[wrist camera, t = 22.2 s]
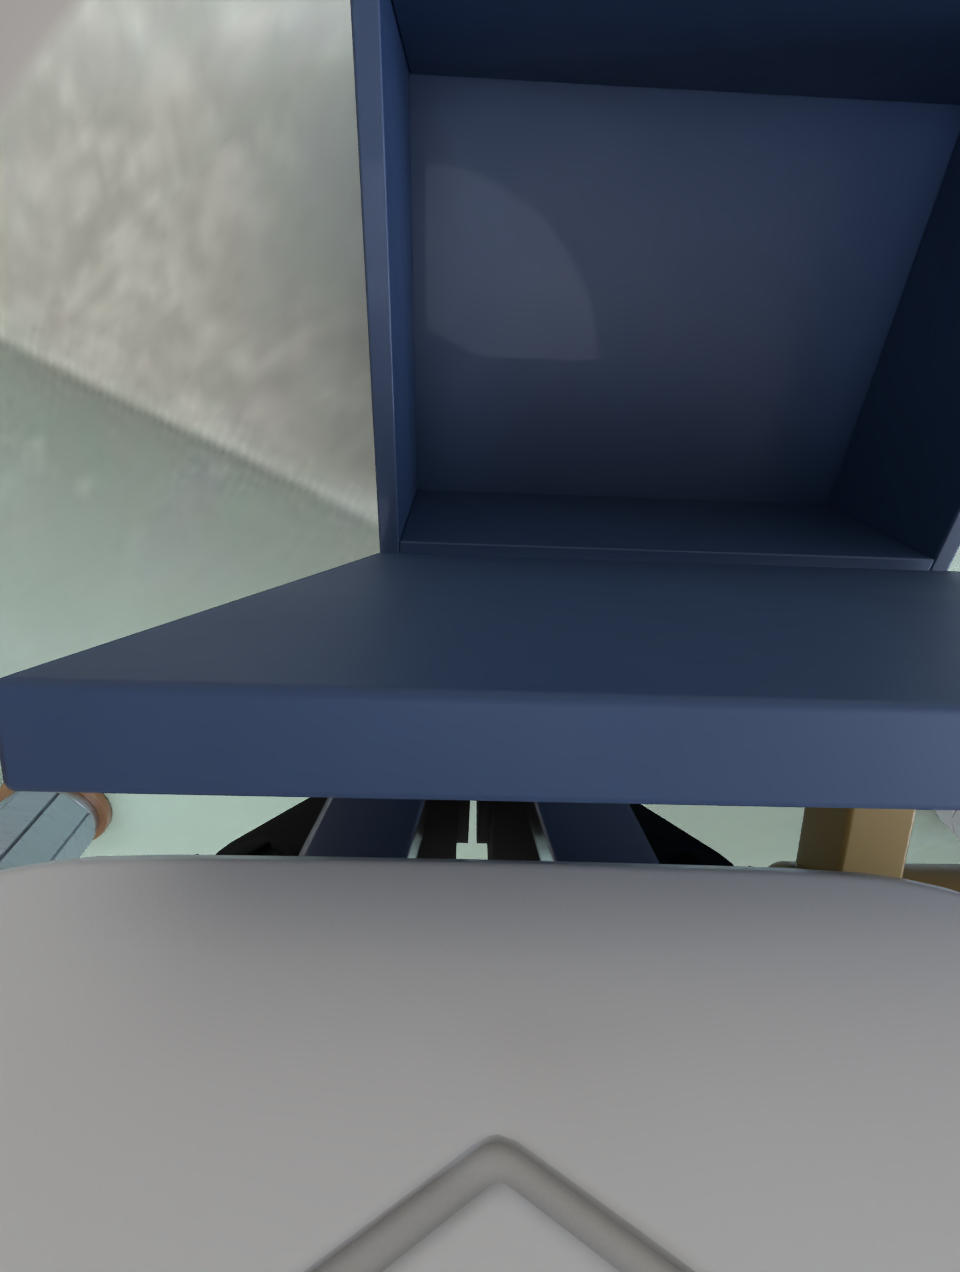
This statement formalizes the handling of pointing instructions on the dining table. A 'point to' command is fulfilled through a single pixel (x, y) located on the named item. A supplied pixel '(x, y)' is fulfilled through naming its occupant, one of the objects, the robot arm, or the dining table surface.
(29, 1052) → the robot arm
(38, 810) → the tumbler
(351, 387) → the dining table surface
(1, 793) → the coaster
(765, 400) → the chest
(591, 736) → the lid
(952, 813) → the cup
